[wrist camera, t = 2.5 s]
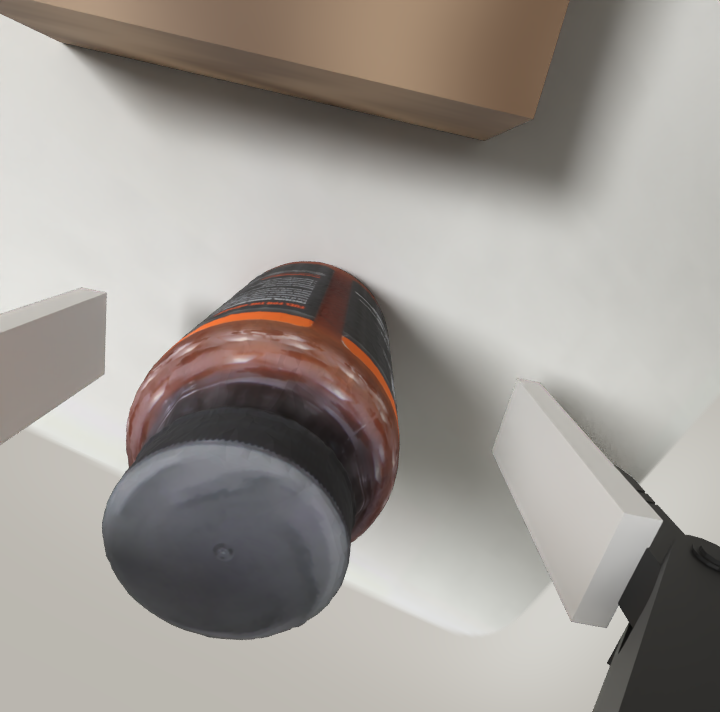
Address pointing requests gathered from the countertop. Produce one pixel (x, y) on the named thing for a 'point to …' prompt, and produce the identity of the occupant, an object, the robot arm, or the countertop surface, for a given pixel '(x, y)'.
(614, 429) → the countertop surface
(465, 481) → the countertop surface
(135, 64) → the countertop surface
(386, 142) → the countertop surface
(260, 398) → the supplement bottle
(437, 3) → the walnut stand
